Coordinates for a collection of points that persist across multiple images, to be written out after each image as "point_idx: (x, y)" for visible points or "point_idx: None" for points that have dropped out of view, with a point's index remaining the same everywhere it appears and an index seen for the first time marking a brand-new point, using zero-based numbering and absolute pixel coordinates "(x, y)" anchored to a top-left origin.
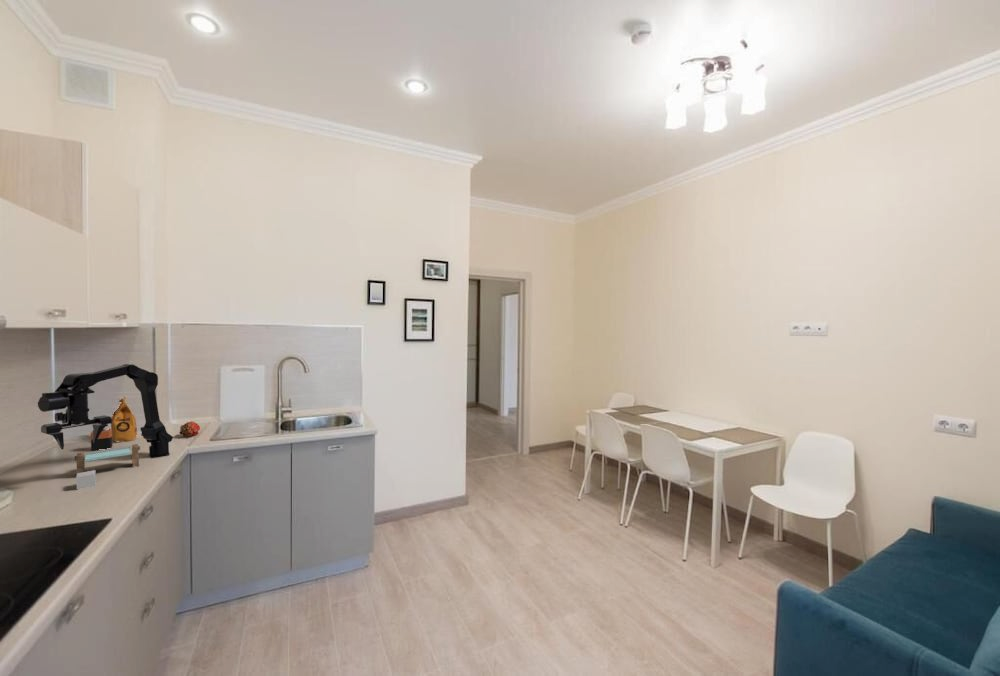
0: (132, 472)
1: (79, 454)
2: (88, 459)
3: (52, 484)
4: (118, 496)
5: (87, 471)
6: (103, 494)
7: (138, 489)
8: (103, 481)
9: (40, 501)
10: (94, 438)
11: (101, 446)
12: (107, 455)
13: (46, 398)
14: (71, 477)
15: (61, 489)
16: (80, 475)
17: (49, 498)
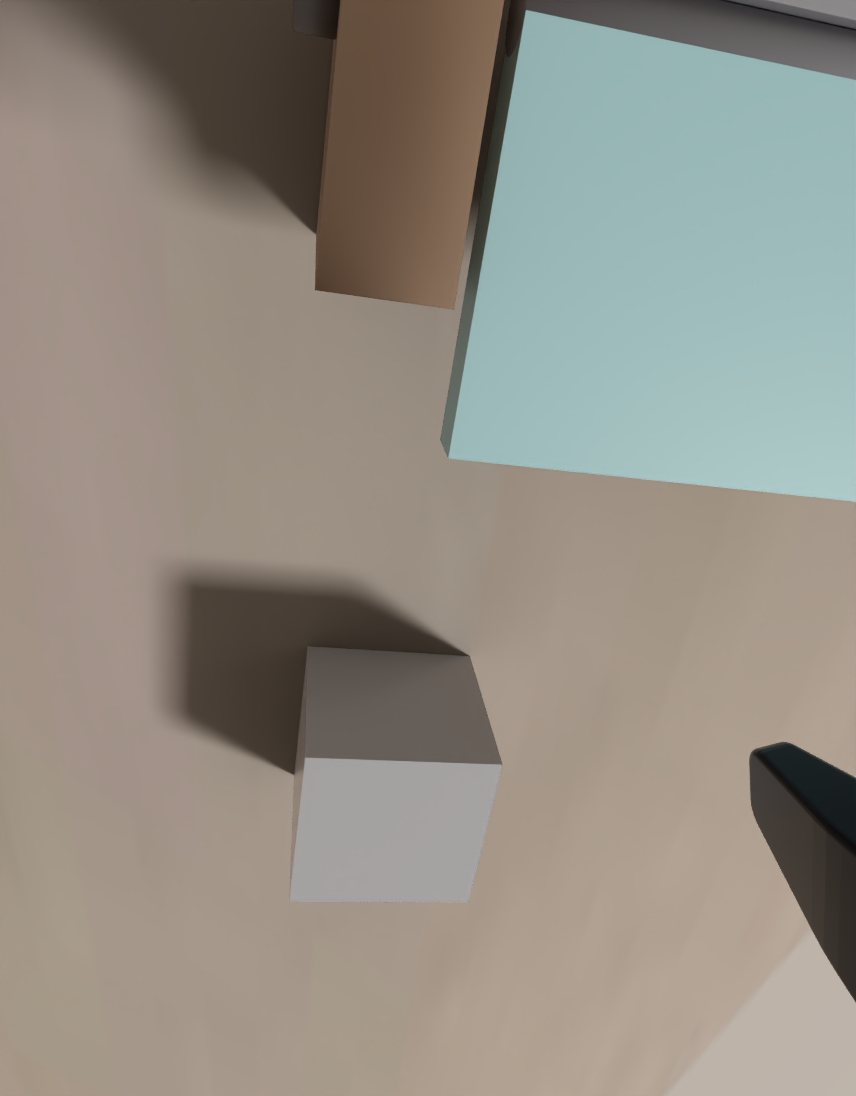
0: (823, 562)
1: (393, 118)
2: (502, 454)
3: (36, 352)
4: (523, 1079)
5: (415, 760)
6: (456, 997)
7: (658, 1031)
8: (529, 674)
9: (22, 880)
10: (853, 968)
11: None
12: (795, 486)
13: None
14: (249, 163)
15: (161, 655)
16: (332, 867)
17: (84, 851)
